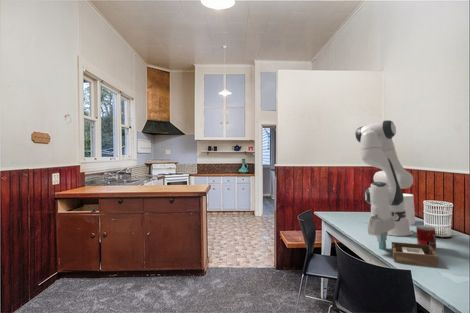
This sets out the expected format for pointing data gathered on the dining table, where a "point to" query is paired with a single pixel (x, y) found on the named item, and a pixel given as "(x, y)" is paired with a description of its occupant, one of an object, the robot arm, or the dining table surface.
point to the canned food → (426, 236)
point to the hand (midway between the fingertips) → (382, 240)
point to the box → (414, 254)
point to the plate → (412, 250)
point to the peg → (383, 242)
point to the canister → (409, 208)
